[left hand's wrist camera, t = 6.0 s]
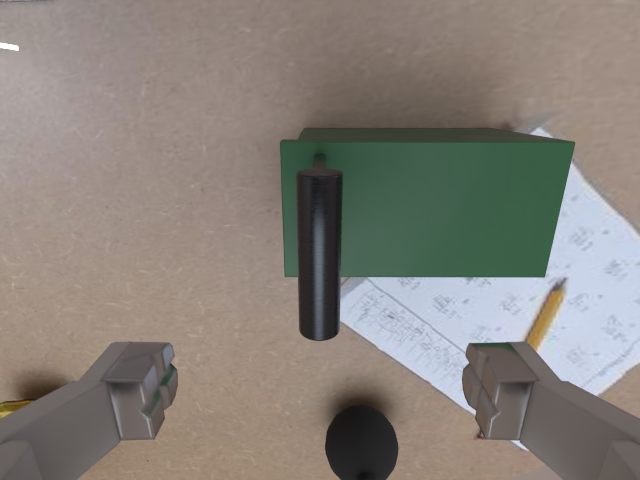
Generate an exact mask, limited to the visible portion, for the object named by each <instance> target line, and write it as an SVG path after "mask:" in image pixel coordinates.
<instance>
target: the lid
mask: <svg viewBox="0 0 640 480" xmlns="http://www.w3.org/2000/svg"><path fill="white" fill-rule="evenodd" d="M574 146H575V142H572V141H566V140H282V141H281V142H280V153H281V182H282V211H283V240H284V269H285V277H298V291H299V330H300V333H301V334H302V335H303V336H304V337H305V338H308V339H310V340H315V341H324V340H329V339H331V338H333V337H335V336H336V335H337V334H338V332H339V330H340V287H341V277H545V274H546V269H547V265H548V261H549V256H550V252H551V247H552V243H553V239H554V234H555V230H556V225H557V221H558V217H559V212H560V208H561V203H562V199H563V195H564V190H565V186H566V181H567V177H568V173H569V168H570V164H571V159H572V155H573V151H574Z"/></svg>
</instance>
